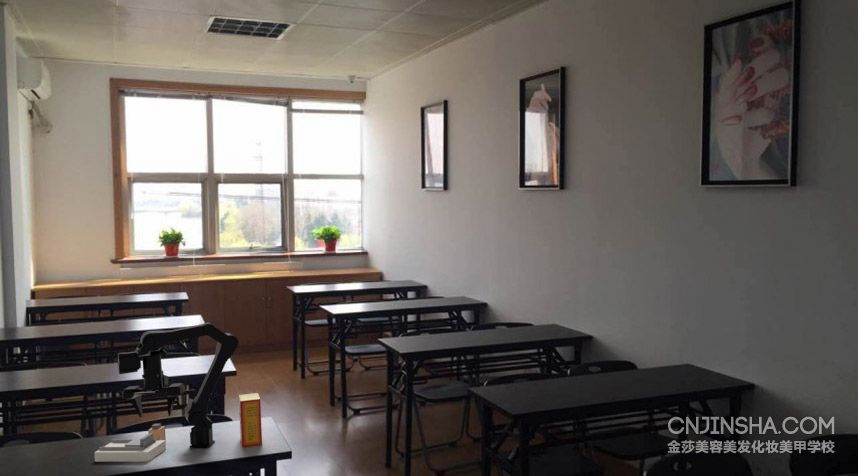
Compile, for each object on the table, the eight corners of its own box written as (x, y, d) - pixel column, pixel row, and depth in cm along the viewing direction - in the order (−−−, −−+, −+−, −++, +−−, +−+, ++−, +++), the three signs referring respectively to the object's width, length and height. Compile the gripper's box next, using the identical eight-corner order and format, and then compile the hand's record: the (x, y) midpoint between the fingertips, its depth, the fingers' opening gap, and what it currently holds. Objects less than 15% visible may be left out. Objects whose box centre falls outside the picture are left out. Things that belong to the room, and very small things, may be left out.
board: (166, 449, 237) (165, 437, 237) (148, 461, 225) (147, 449, 225) (115, 449, 238) (114, 437, 238) (94, 461, 226) (94, 449, 226)
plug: (165, 443, 243) (164, 422, 243) (160, 447, 239) (159, 426, 239) (154, 443, 243) (153, 422, 243) (149, 447, 239) (148, 426, 239)
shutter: (153, 442, 234) (153, 433, 234) (143, 448, 228) (143, 439, 228) (135, 442, 235) (134, 433, 235) (124, 448, 228) (124, 439, 228)
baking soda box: (240, 439, 244) (238, 393, 244) (259, 437, 246) (257, 391, 246) (242, 447, 235) (240, 400, 235) (262, 445, 237) (260, 398, 237)
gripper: (188, 362, 240) (191, 408, 241) (133, 366, 239) (136, 411, 240) (178, 370, 229) (181, 417, 230) (119, 373, 228) (123, 421, 229)
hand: (155, 416), depth 232 cm, fingers open, 9 cm apart
